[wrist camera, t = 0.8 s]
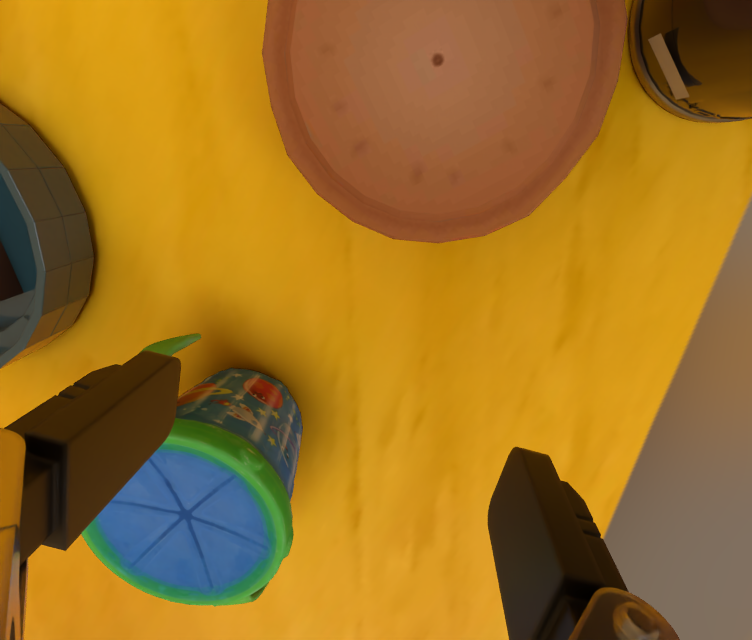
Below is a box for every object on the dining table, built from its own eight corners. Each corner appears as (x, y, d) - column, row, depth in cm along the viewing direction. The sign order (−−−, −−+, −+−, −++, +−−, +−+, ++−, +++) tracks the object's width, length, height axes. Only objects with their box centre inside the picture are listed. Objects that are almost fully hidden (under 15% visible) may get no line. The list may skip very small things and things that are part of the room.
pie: (266, 195, 26) (232, 205, 22) (313, -151, 21) (281, -237, 16) (530, 260, 26) (554, 284, 22) (649, -71, 21) (715, -136, 16)
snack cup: (346, 503, 33) (315, 644, 24) (209, 510, 35) (128, 646, 25) (302, 296, 28) (241, 370, 19) (144, 315, 30) (13, 392, 20)
